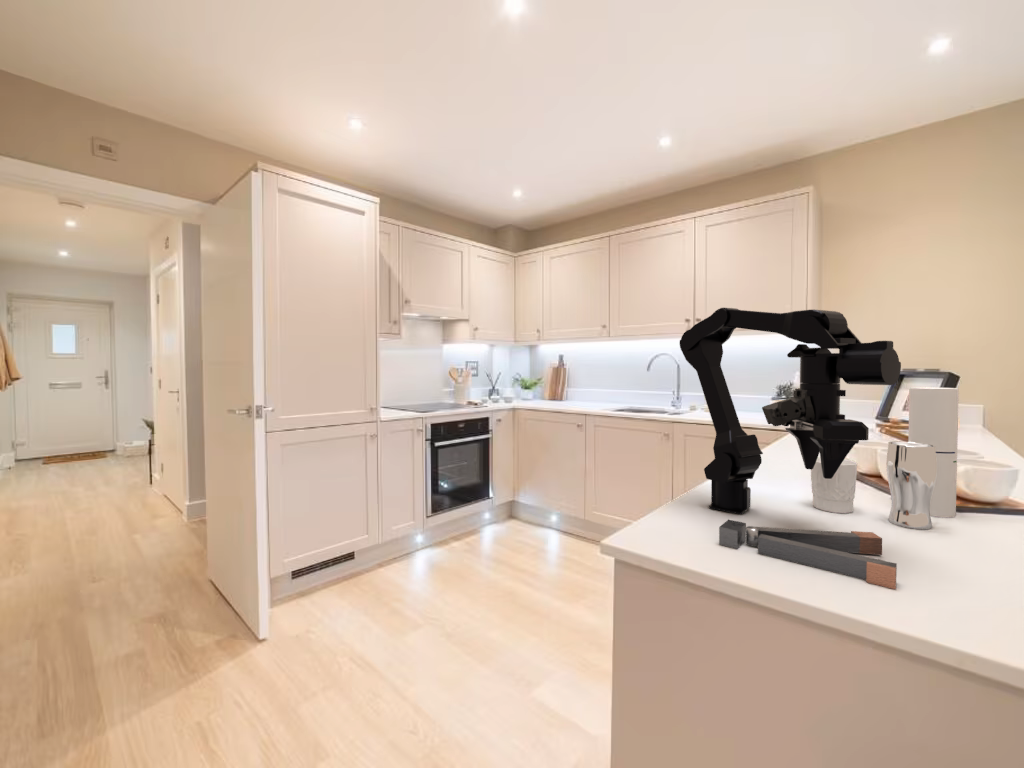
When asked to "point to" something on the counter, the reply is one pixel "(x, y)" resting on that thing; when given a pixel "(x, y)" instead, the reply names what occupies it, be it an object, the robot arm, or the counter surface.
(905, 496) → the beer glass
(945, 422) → the beige tall box
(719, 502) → the robot arm
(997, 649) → the counter surface
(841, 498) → the white cup
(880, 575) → the base
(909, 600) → the counter surface
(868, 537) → the bar
